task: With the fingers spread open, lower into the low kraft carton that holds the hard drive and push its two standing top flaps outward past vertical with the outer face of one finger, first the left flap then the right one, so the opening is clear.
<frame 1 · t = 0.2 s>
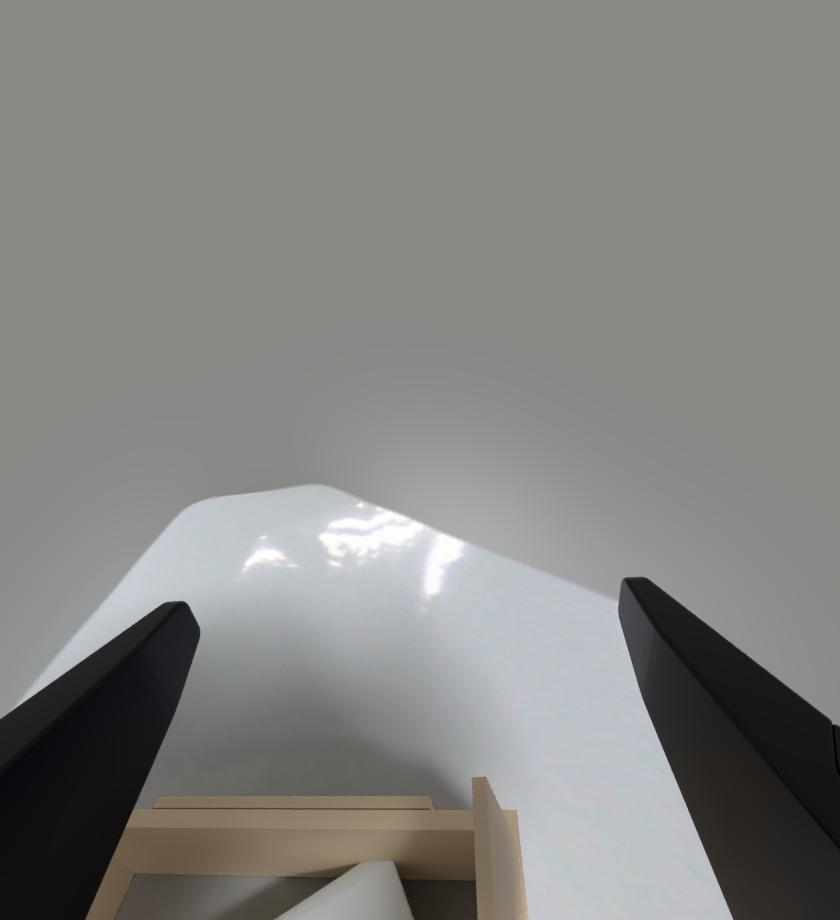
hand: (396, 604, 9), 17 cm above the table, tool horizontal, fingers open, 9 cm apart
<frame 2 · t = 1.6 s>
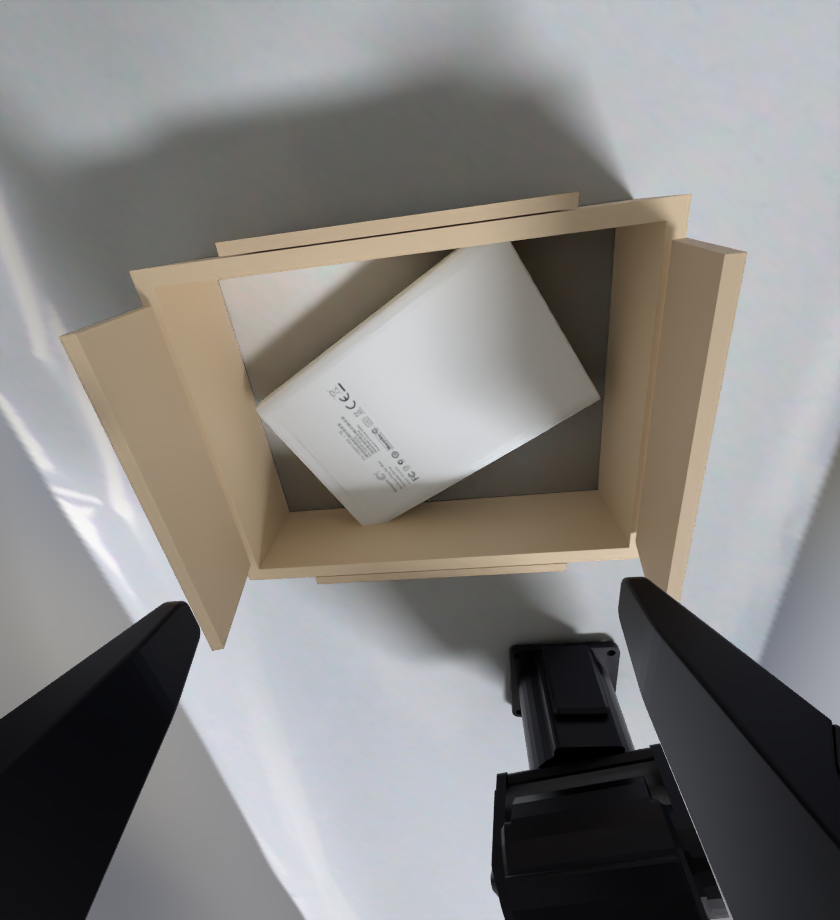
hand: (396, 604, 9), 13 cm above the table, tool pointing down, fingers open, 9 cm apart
carton: (424, 391, 21), on the table
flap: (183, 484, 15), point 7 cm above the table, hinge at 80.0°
external hard drive: (424, 391, 21), resting in carton
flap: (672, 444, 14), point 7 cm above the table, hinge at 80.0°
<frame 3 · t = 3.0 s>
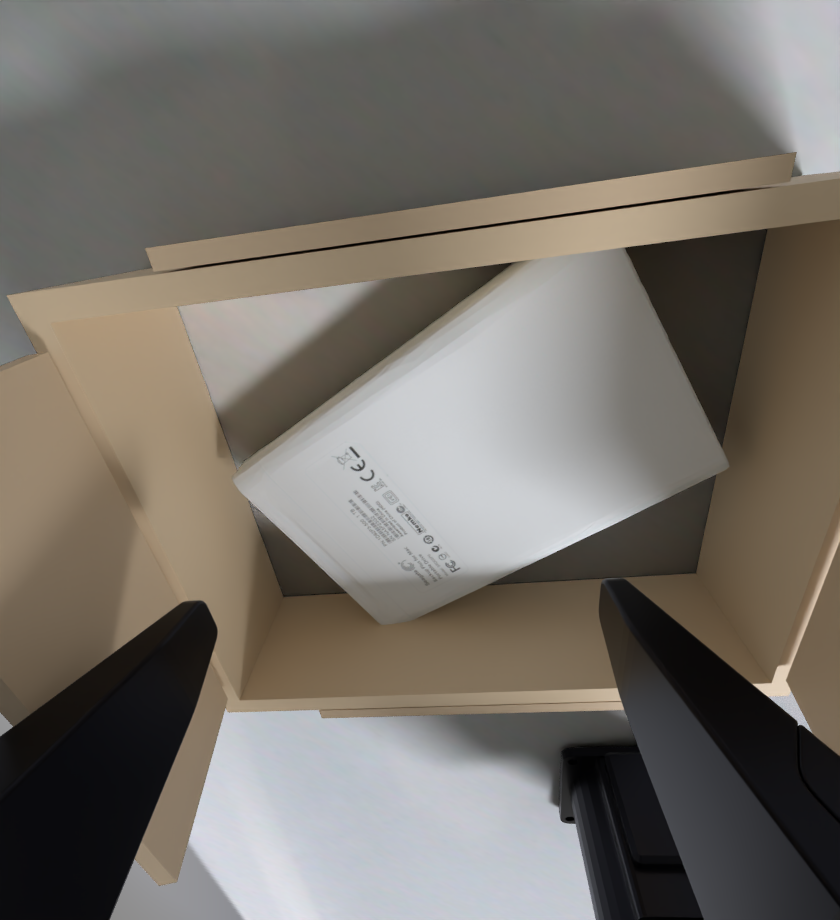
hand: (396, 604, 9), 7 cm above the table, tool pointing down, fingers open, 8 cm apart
carton: (467, 449, 15), on the table
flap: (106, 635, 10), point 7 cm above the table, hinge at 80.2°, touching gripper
external hard drive: (467, 449, 15), resting in carton
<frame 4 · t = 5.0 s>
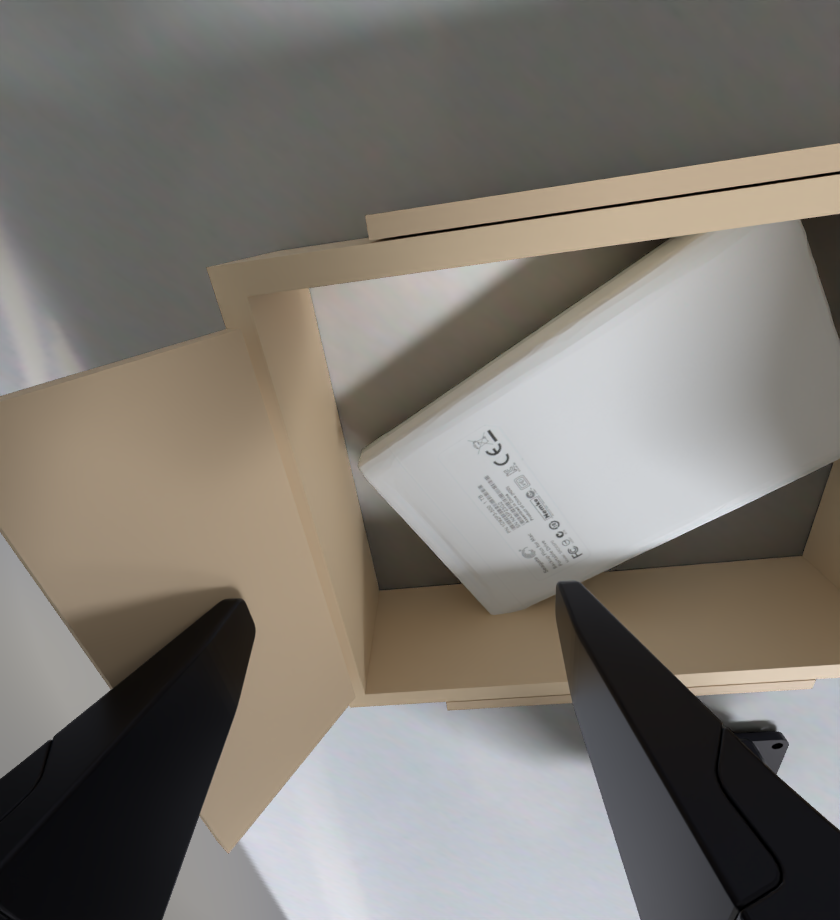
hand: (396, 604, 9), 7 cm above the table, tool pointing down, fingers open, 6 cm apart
carton: (589, 434, 15), on the table
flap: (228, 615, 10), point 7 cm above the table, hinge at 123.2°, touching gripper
external hard drive: (589, 433, 15), resting in carton
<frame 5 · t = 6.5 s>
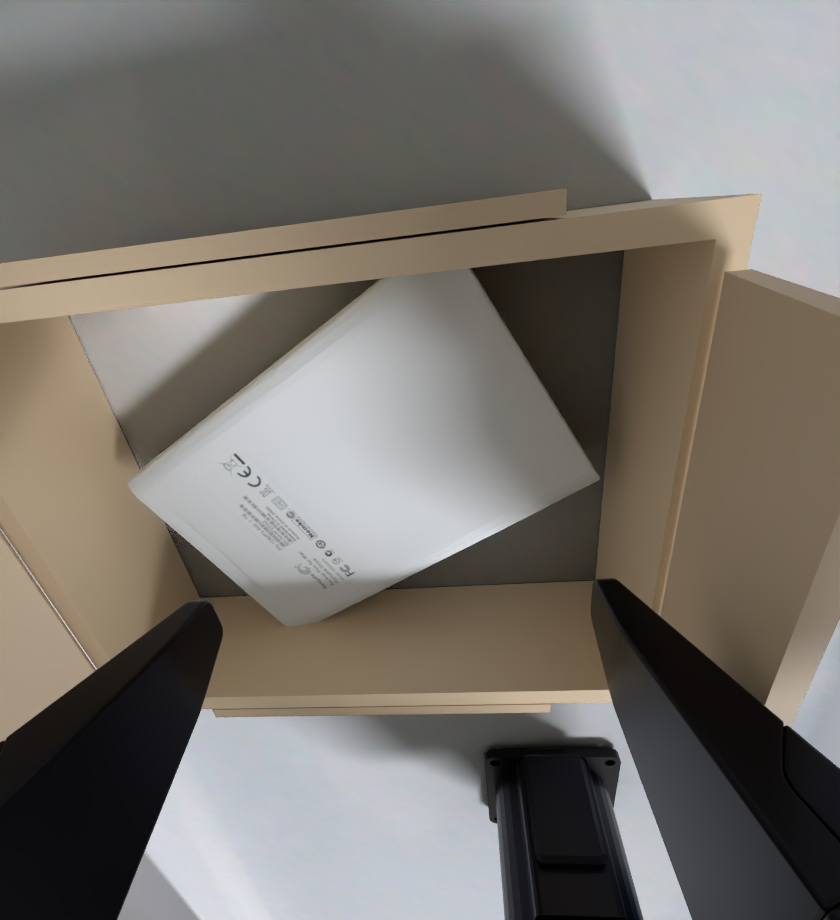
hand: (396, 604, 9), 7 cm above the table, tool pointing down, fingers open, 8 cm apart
carton: (362, 457, 15), on the table
external hard drive: (362, 457, 15), resting in carton
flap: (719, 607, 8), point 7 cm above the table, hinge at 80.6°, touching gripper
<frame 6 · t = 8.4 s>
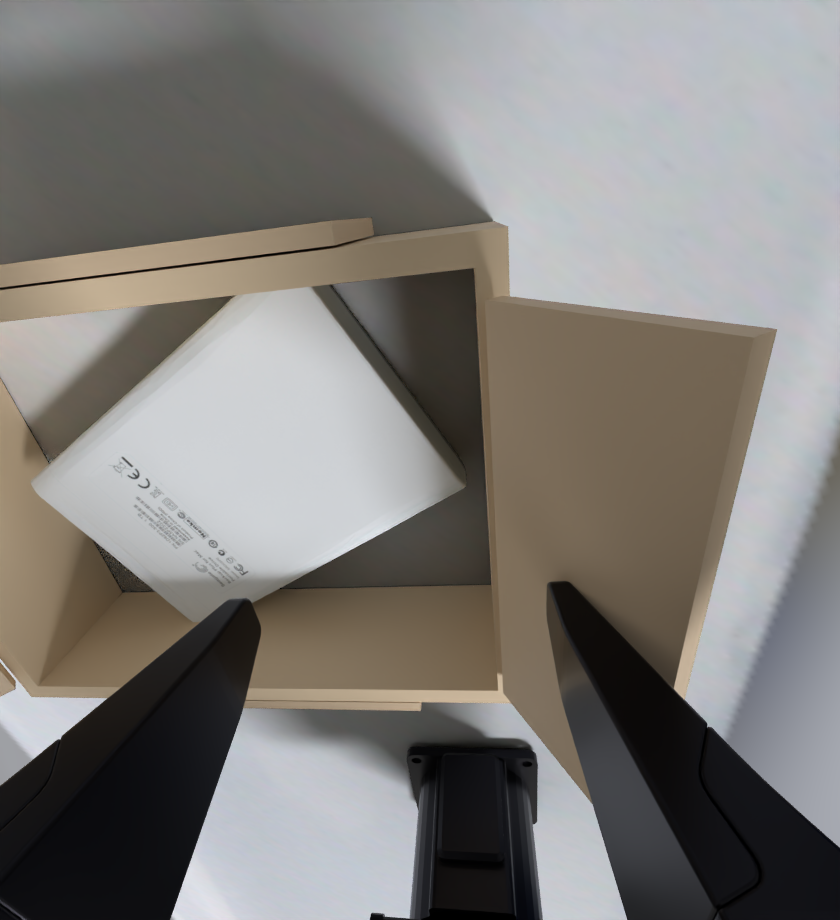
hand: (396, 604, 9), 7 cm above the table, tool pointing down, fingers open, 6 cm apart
carton: (255, 462, 16), on the table
external hard drive: (255, 461, 16), resting in carton
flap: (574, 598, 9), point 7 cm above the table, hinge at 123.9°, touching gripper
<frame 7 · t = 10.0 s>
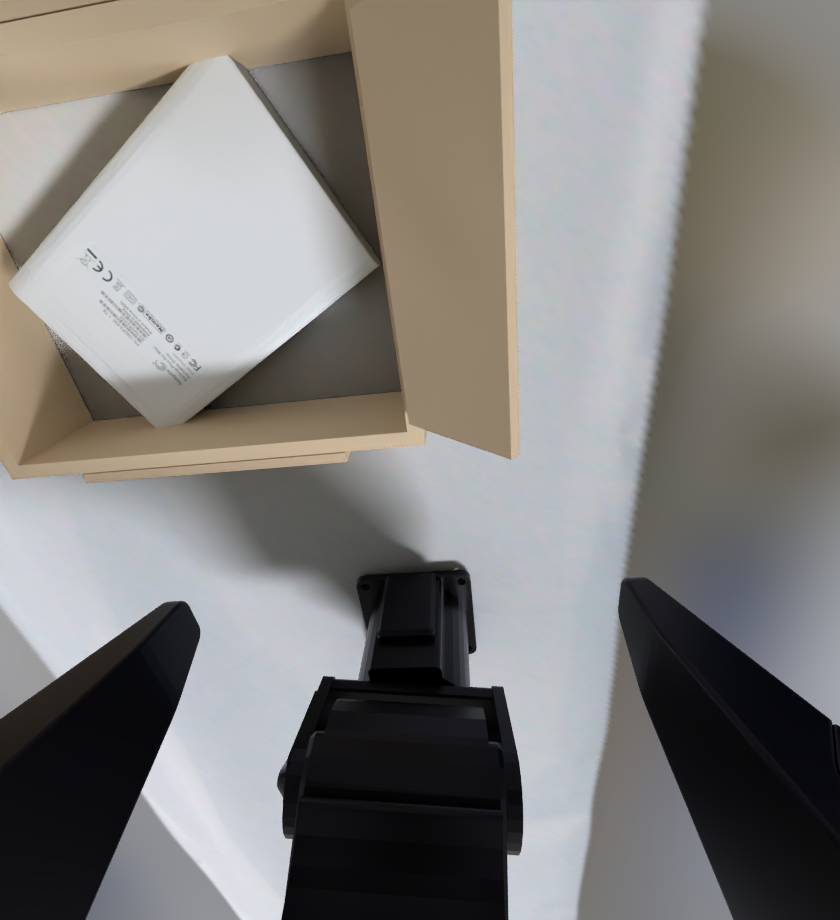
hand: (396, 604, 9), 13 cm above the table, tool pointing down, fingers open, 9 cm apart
carton: (204, 270, 19), on the table
external hard drive: (205, 270, 19), resting in carton
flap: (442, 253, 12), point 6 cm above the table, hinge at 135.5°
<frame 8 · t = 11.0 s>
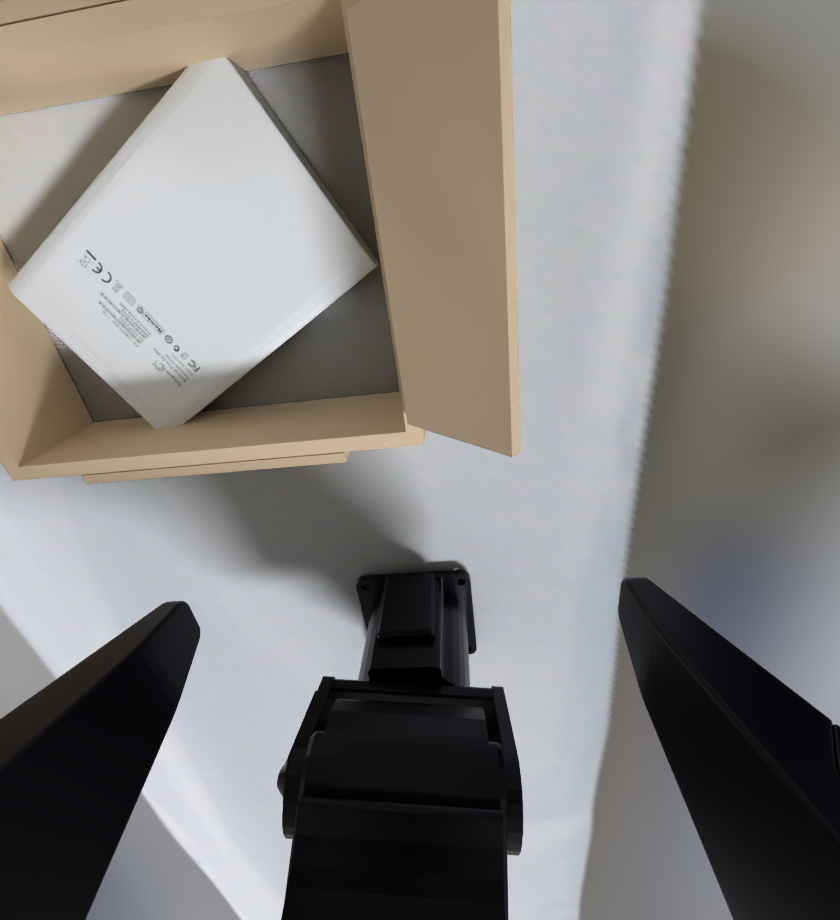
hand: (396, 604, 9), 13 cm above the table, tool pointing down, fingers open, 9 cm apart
carton: (203, 271, 19), on the table
external hard drive: (204, 271, 19), resting in carton
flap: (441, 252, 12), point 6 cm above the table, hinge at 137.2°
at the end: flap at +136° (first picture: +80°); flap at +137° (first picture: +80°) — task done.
